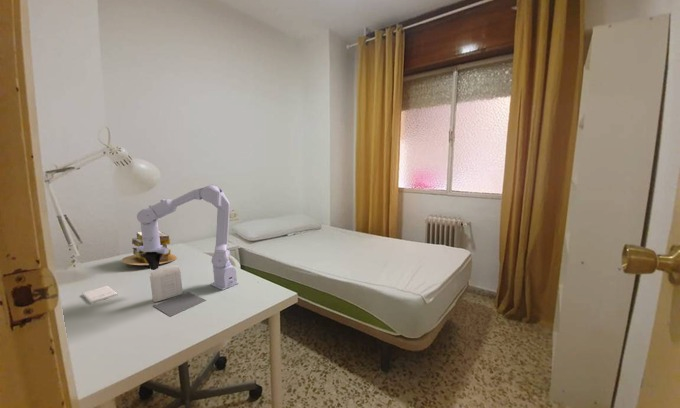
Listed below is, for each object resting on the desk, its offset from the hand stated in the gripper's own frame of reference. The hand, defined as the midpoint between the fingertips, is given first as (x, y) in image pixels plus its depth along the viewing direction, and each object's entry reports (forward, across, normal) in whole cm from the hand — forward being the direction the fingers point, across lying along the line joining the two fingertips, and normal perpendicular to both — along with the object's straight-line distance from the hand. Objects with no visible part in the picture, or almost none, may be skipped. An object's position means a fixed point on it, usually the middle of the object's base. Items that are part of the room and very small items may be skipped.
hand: (154, 269), depth 109 cm
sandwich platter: (+10, +36, -27) cm, 46 cm away
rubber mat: (+10, -18, +6) cm, 21 cm away
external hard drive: (+11, +20, +8) cm, 24 cm away
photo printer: (+10, -9, +3) cm, 14 cm away
